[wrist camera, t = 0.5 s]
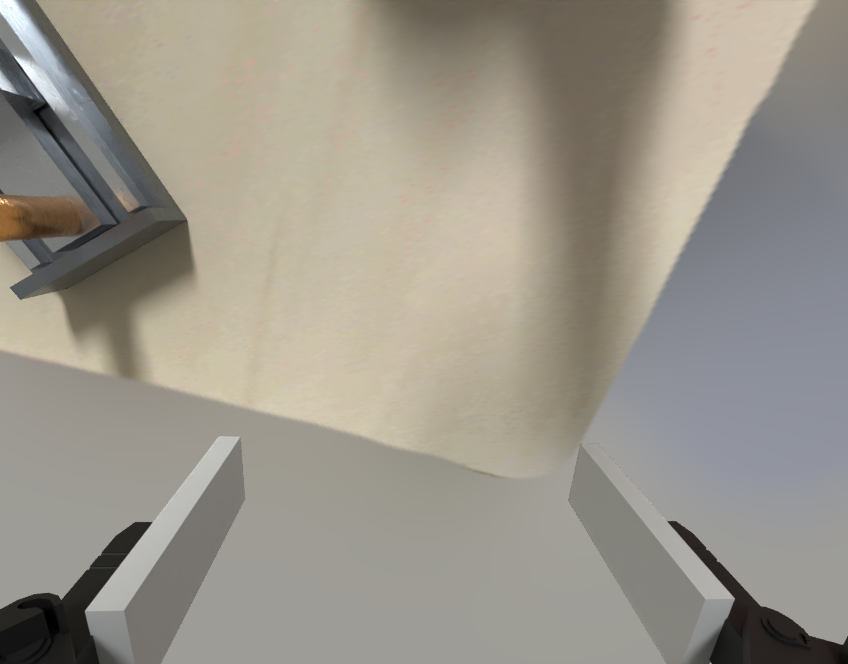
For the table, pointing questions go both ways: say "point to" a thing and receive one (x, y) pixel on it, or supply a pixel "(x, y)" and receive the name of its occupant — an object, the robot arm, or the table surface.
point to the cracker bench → (82, 156)
